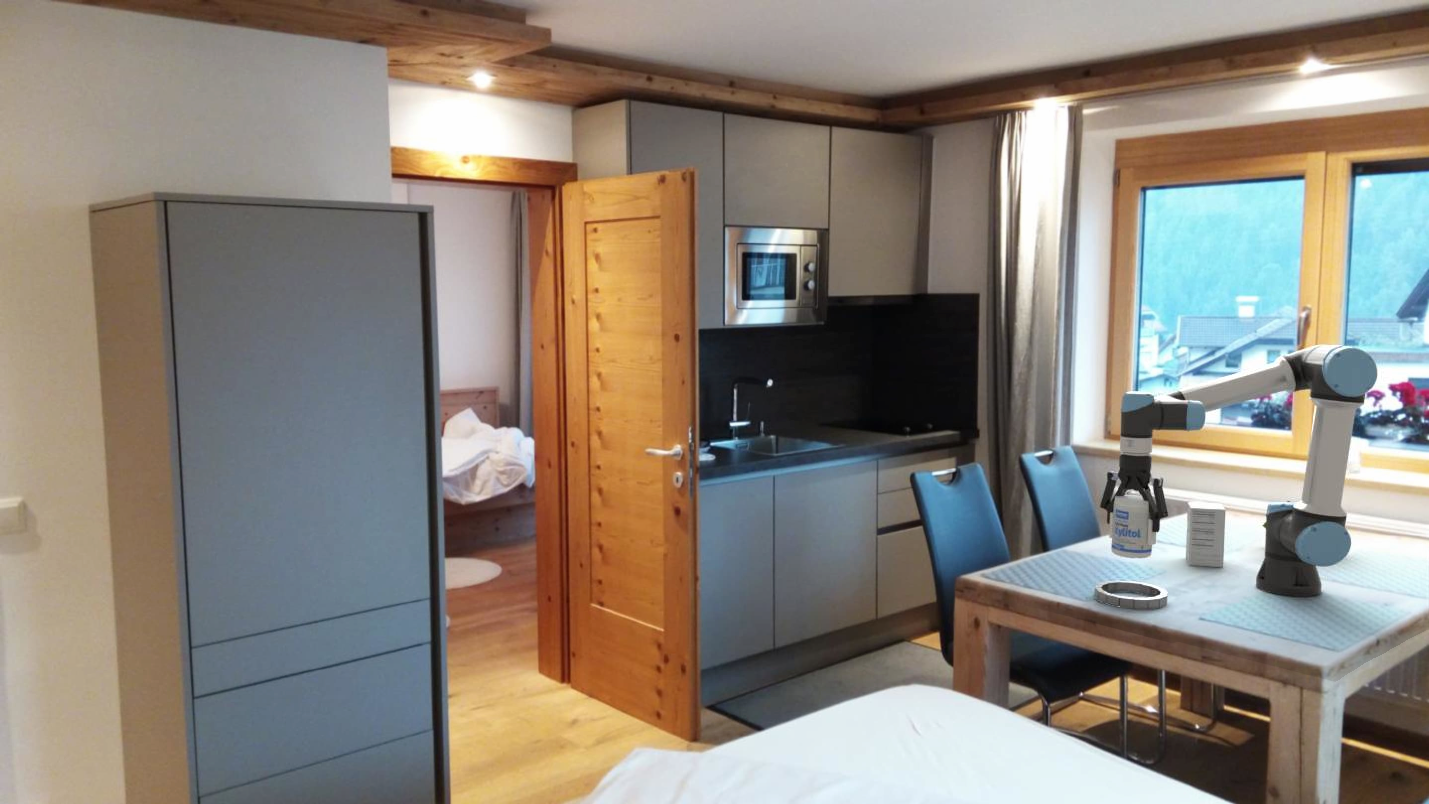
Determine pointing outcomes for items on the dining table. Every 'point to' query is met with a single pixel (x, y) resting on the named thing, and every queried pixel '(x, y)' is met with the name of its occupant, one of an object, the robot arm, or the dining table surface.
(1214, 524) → the supplement box
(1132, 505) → the supplement tub
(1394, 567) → the dining table surface
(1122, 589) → the collar
